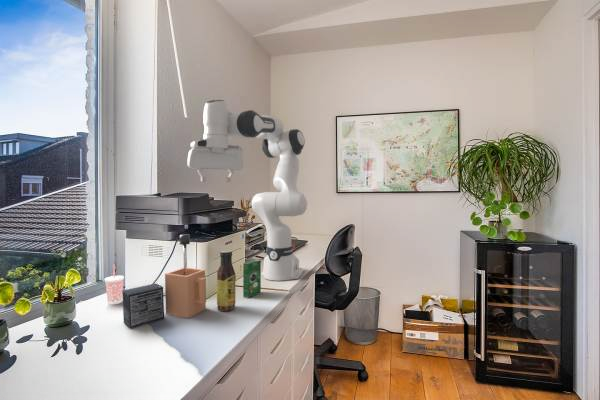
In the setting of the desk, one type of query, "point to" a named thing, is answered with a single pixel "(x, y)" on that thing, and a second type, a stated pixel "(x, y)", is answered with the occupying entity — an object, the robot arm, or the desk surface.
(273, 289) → the desk surface
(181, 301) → the square terracotta mug
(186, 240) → the plunger
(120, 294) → the beverage cup
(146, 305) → the small box
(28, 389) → the desk surface
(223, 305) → the sauce bottle
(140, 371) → the desk surface
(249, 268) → the coffee box
